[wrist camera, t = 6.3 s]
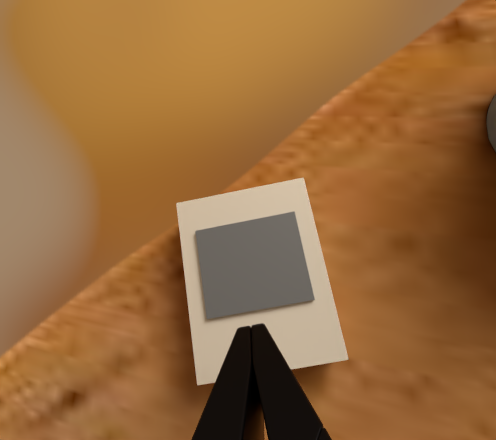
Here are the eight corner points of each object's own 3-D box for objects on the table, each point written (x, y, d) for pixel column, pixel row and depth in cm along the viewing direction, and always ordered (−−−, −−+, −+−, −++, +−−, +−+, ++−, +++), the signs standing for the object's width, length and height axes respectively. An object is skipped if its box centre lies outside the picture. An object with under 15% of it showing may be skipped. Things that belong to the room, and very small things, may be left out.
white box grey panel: (349, 360, 13) (303, 175, 15) (195, 387, 13) (174, 201, 15) (335, 348, 16) (299, 196, 18) (211, 369, 16) (191, 217, 19)
